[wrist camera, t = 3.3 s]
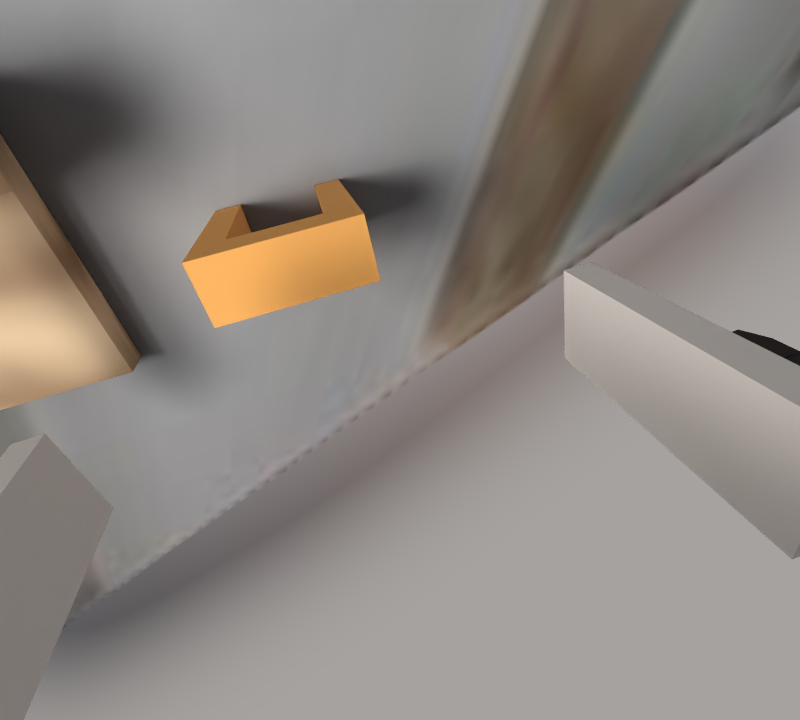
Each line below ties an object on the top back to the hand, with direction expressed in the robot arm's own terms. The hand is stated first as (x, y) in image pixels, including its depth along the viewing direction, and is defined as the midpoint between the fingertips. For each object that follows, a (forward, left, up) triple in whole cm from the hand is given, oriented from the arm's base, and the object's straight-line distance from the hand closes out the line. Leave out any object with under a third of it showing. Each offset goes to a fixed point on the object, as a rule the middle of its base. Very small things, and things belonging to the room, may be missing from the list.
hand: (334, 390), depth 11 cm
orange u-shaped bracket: (-1, -1, -19) cm, 19 cm away
